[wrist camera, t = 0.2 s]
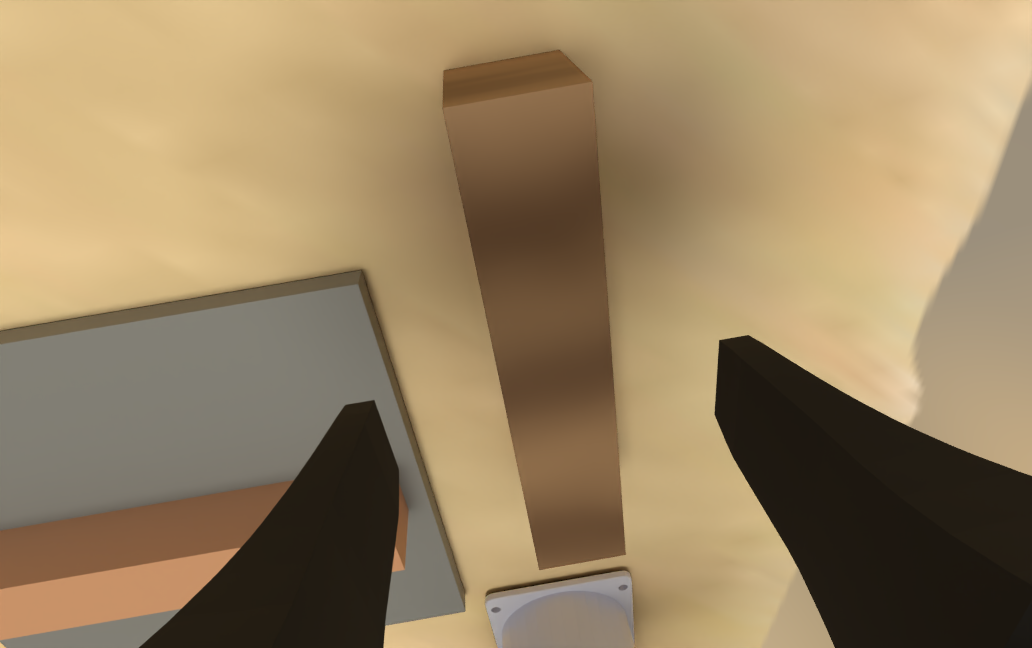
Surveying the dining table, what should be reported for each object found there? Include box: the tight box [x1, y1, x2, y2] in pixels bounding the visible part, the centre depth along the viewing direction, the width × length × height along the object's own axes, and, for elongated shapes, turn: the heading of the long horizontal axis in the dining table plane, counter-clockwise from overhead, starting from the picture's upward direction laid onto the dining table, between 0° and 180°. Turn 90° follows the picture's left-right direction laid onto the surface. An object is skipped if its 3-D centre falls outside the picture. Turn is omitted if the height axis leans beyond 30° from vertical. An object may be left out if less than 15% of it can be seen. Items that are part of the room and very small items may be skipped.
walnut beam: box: [443, 50, 626, 570], centre depth 21 cm, size 18×4×5 cm, turn 8°
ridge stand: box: [0, 270, 465, 648], centre depth 24 cm, size 20×22×4 cm
